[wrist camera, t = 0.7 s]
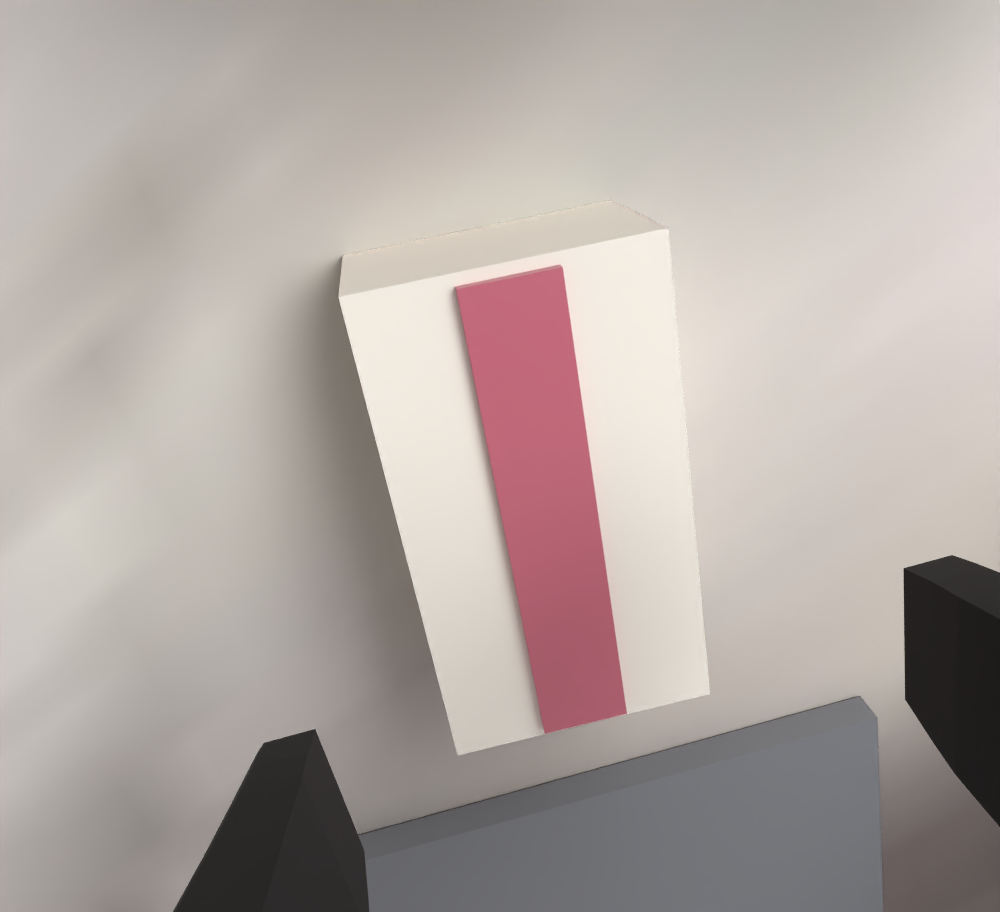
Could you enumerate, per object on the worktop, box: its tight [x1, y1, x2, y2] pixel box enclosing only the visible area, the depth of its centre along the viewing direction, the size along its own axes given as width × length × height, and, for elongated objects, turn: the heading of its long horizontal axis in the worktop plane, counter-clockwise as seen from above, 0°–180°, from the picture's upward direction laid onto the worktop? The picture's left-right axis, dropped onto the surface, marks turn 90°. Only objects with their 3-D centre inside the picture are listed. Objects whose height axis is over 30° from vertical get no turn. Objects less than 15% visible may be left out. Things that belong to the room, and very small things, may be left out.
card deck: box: [338, 200, 710, 755], centre depth 16 cm, size 5×9×4 cm, turn 10°
